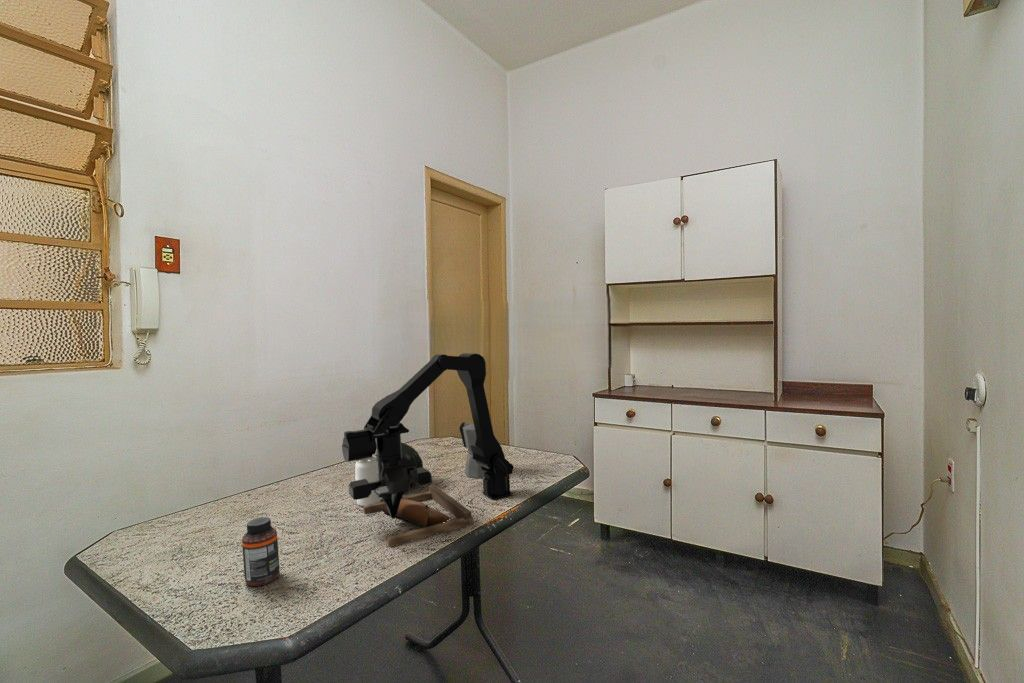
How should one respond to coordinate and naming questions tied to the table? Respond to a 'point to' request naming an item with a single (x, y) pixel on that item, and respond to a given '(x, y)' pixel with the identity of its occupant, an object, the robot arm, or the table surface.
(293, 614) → the table surface
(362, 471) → the can
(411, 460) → the squash
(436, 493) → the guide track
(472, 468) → the coffeepot
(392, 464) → the robot arm
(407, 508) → the sunglasses case
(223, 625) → the table surface
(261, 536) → the supplement bottle
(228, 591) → the table surface
